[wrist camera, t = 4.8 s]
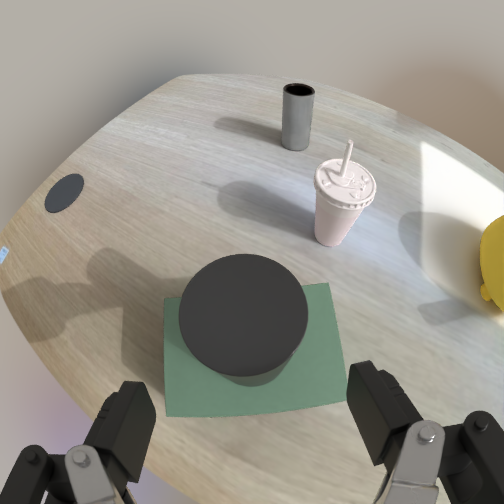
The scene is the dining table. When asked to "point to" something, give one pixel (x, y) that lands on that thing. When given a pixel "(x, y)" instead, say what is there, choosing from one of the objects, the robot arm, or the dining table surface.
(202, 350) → the dark grey cylinder
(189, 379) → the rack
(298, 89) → the planter
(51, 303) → the dining table surface
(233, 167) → the dining table surface
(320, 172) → the smoothie
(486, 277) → the teapot
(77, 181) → the coaster
